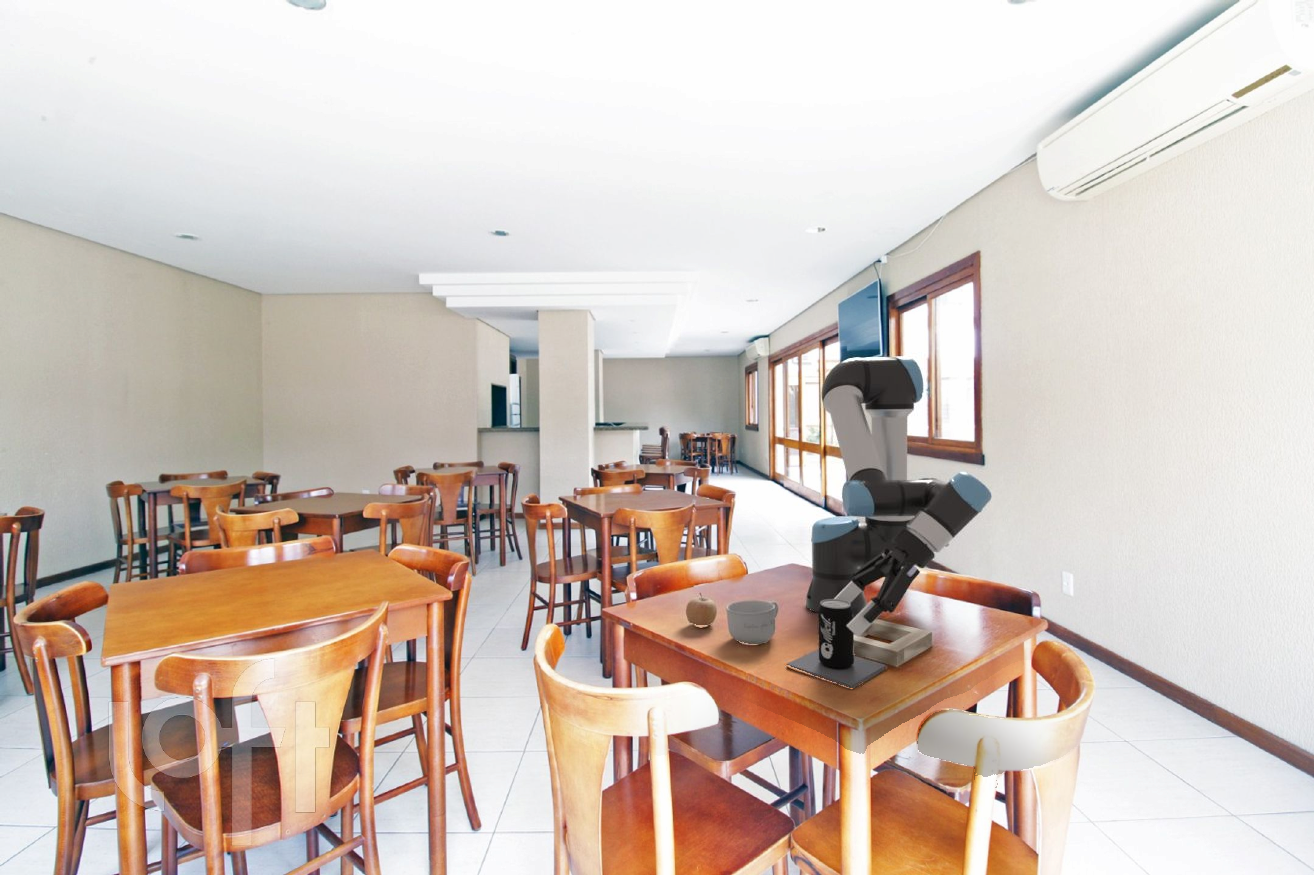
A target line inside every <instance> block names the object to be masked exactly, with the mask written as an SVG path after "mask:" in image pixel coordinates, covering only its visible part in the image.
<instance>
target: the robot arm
mask: <svg viewBox="0 0 1314 875" xmlns="http://www.w3.org/2000/svg"><path fill="white" fill-rule="evenodd" d="M922 374H923V373H922V371H921V368H920V366H919V365H918V363H917V362H916V360H915V359H913V358H911V357H909V356H908V357H907V356H883V357H881V356H879V357H877V356H876V357H852V358H851V357H850V358H847V359H845V360H843V361H841V362H838V364H836V365H835V366H834V367H832V369H831V370H830V371H829V372H828V374H827V375H826V376H825V379H824V381H823V384H822V387H821V402H822V405H823V408H824V410H825V411H826V413H828V414H829V415H830V417H831V418H830V419H831V421H832V425H833V428H834V429H833V430H834V432H835V436H836V440H837V443H838V448H839V450H840V454H841V458H842V461H843V465H844V468H845V472H846V475H847V479H848V480H847V481H846V482H844V483H843V486H842V489H841V491H842V492H841V499H842V507H843V510H844V512H845V513H846V514H847V516H844V515H841V516H839V515H838V516H832V517H826V518H822V519H819V520H817V521H816V522H814V523H813V524H812V529H811V540H810V541H811V559H812V560H811V562H812V563H811V564H812V565H811V567H812V569H811V573H812V578H811V581H810V583H809V587H808V590H807V593H806V596H805V607H806V606H807V607H806V608H807V609H808V608H809V609H811V610H812V611H811V610H810V611H811V612H814V611H815V612H814V613H817V614H818V609H819V607H820V605H821V604H820V602H821V601H822V600H826V599H839V600H844V601H848V602H849V603H850V604H851V606H850V607H851V609H852V610H853V619H852V620H851V621H850V622H849V623H848V624H847V625H846V626H847V627H848V628H849V629H850V630H851V631H852V632H853V633H854V634H855V635H856V636H857V637H859V636H860V635H861V634H862V633H863V632H864V631H865V630H866V629H867V628H868V627H869V626H870V625H871V624H872V623H873V622H874V621H875V620H876V619H878V618H879V617H880V616H881V615H883V613H887V612H889V613H891V614H892V613H894V611H895V610H896V609H897V607H898V605H899V604H900V603H901V601H902V599H903V597H904V595H905V594H906V593H907V591H908V589H909V587H910V586H911V585H912V583H913V581H914V580H915V579H916V578H917V577H918V576H919V575H920V573H921V570H919V569H918V568H920V569H924V568H925V567H927V566H928V565H929V563H931V561H932V560H933V559H935V557H936V554H935V553H940V552H941V551H942V550H943V549H944V548H945V547H949V545H950V543H951V541H952V540H953V539H955V537H957V535H958V534H959V533H960V532H961V531H962V530H963V529H964V528H965V527H966V526H967V525H968V524H969V523H970V522H972V520H973V519H974V518H976V517H977V515H978V514H979V513H982V511H983V510H984V508H985V507H986V506H987V505H988V503H989V502H991V499H992V493H991V491H990V489H989V488H988V487H987V486H986V485H985V484H984V483H983V482H982V481H980V480H979V479H978V478H976V477H975V476H973V475H972V474H970V473H968V472H965V471H959V472H958V473H956V475H954V476H953V477H951V478H950V479H949V481H943V480H941V479H937V478H934V477H930V478H928V477H923V478H918V479H908V417H909V415H911V413H912V412H913V411H914V410H915V404H916V403H919V402H920V401H921V399H922V398H923V393H924V379H923V375H922ZM862 404H864V408H865V410H864V408H863V405H862ZM865 412H866V413H867V414H869V416H870V418H871V428H870V426H869V422H868V420H867V416H866V414H865ZM870 429H871V430H870ZM858 517H862V518H865V519H864V521H862V522H861V521H859V518H858ZM917 567H918V568H917ZM882 578H884V580H883V582H882V583H881V586H880V588H879V591H878V593H877V595H876V596H874V597H872V598H871V599H870V601H869V602H868V603H867V598H866V596H865V593H864V591H865V590H866V587H867V586H868V585H870V584H873V583H875V582H877V581H878V580H880V579H882ZM809 609H808V610H809Z"/></svg>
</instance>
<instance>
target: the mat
mask: <svg viewBox="0 0 1314 875" xmlns="http://www.w3.org/2000/svg"><path fill="white" fill-rule="evenodd" d="M786 665H790V666H791V667H794V668H797V669H799V670H802V671H805V672H807V673H810V674H812V675H814V676H818V677H820V678H824V679H826V680H829V681H832V682H836V683H837V684H840V685H844V686H846V687H849V688H854V687H855V688H857V687H858V686H857V685H859V684H860V685H862V684H863V683H862V682H864V683H865V682H867V681H869V680H871V679H872V678H874V677H875V676H877V675H879V674H881V673H882V672H884V671H885V670H887V664H885V663H882V662H878V661H875V660H871V659H868V658H864V657H861V656H858V655H854V663H853V664H852V665H851V667H850V668H848V669H842V670H838V669H831V668H828V667H825V666H824V665H823V664H822V663H821V662H820V660H819V648H816V649H815V650H813V651H810V652H808V653H806V654H805V655H804V654H803V655H802V656H800V657H798V658H796V659H793V660H791V661H790V662H787V663H786ZM883 670H884V671H883ZM881 671H882V672H881ZM880 672H881V673H880ZM873 676H874V677H873ZM868 679H869V680H868ZM861 683H862V684H861ZM860 685H859V686H860ZM856 686H857V687H856ZM855 688H854V689H855Z"/></svg>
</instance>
